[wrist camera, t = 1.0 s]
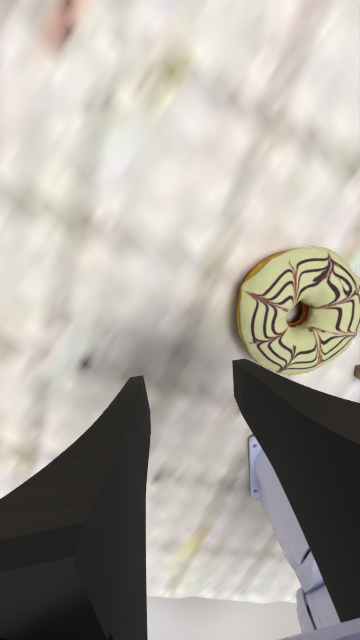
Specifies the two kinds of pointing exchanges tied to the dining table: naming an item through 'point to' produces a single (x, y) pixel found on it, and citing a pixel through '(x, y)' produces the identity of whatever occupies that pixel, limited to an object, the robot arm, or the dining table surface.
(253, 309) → the decorated donut
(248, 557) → the dining table surface
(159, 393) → the dining table surface
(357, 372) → the walnut frame
